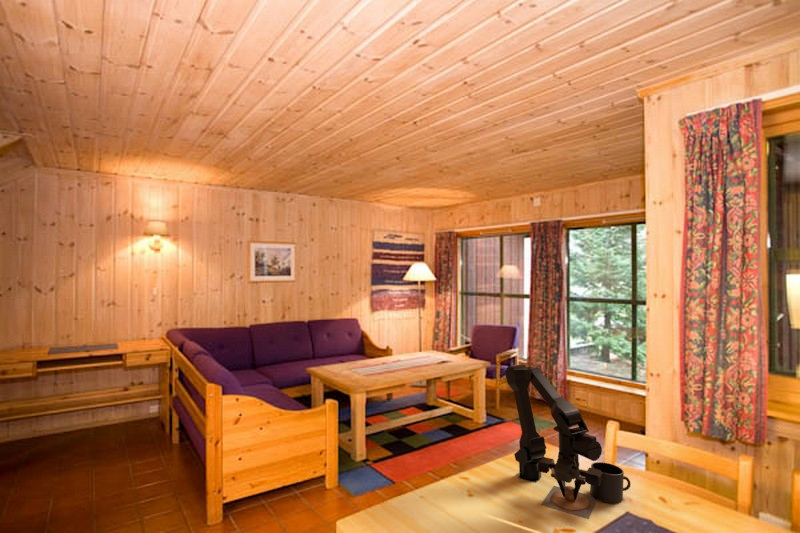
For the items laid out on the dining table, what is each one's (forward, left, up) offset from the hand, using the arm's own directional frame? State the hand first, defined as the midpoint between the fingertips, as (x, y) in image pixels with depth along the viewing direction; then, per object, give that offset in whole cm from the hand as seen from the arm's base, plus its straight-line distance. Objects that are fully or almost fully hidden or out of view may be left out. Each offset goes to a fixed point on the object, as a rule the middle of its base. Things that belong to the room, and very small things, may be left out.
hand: (569, 497), depth 138 cm
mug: (+10, +10, -2) cm, 14 cm away
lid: (0, 0, -1) cm, 1 cm away
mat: (0, 0, -2) cm, 2 cm away
